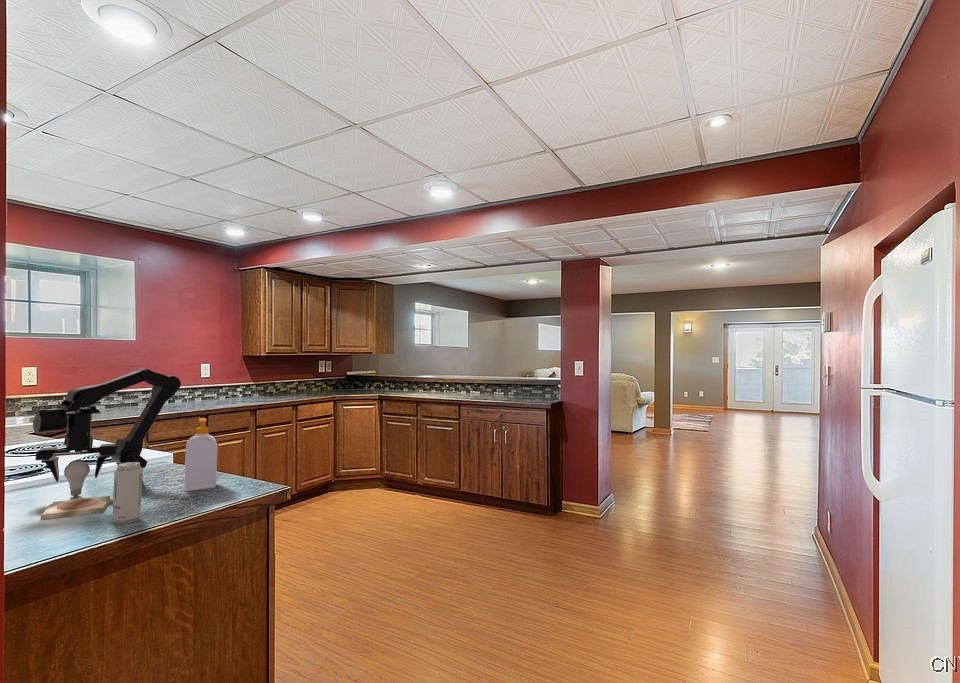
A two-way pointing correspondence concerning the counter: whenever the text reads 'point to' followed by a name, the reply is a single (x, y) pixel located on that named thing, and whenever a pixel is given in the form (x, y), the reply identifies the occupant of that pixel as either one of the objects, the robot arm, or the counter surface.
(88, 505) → the birch board
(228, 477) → the counter surface
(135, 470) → the energy drink can
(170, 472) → the counter surface
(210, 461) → the soap bottle
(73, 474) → the lightbulb
